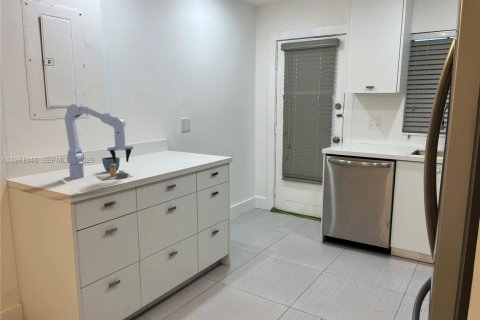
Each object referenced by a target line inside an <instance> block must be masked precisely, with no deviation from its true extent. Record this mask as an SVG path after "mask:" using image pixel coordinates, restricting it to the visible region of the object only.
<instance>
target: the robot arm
mask: <svg viewBox="0 0 480 320" xmlns="http://www.w3.org/2000/svg"><path fill="white" fill-rule="evenodd" d="M82 115H89V116H93V117H95V118H98V119H100V120H101V122H102V123H104V124H107V125H108V126H110V127H112V128H113V129H114V131H113V132H114V146H112V147H111V146H110V147H107V148H106V150H107V152H109V153H110V155H111V157H113V160H114V163H116V158H115V157H116V151H125V162H127V163H129V160H130V156H131V152H132V151H133V150H134V146H133V145H127V146H126V137H125V136H126V135H125V132H126V131H125V127H126V121H125V120H124V119H123V118H119V117H118V116H114V115H112V114H111V113H110V112H104V113H102V112H100V111H98V110H97V109H94V108H92V107H89V106H88V105H84V104H82V103H79V104H78V103H77V104H75V103H74V104H73V103H72V104H70V105H69V106H68V107H66V112H65V115H64V123H65V130H66V135H67V141H68V142H67V143H68V148H69V149H68V151H67V158H66V159H67V162H68V163H69V178H70V179H82V178H84V177H85V174H84V171H85V170H84V162H83V161H84V159H85V155H84V153H83V151H82V148H81V147H80V142H79V138H78V131H77V123H76V121H77V119H78V118H80V117H81V116H82Z"/></svg>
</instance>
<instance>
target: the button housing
mask: <svg viewBox="0 0 480 320" xmlns="http://www.w3.org/2000/svg"><path fill="white" fill-rule="evenodd" d="M127 173H128V172H125V171H124V174H119V172H118V173H117V172H116V177H117V178H119V179H118V180H120V178H121V179H127V178H129V177H128V175H127Z"/></svg>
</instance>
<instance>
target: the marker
mask: <svg viewBox="0 0 480 320" xmlns="http://www.w3.org/2000/svg"><path fill="white" fill-rule="evenodd" d="M116 173H117V171H116V164H110V172H109V175H110V176H116Z"/></svg>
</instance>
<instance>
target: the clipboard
mask: <svg viewBox="0 0 480 320" xmlns="http://www.w3.org/2000/svg"><path fill="white" fill-rule="evenodd" d="M126 173H127V175H128V178H133V177H134V176H133V175H130V174H129V173H128V172H126ZM95 178H97V179H99V180H100V181H103V182H105V181H113V180H120V179H122V178H120V179H119V178H117V177H116V176H110V174H106V175H98V176H95Z"/></svg>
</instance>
